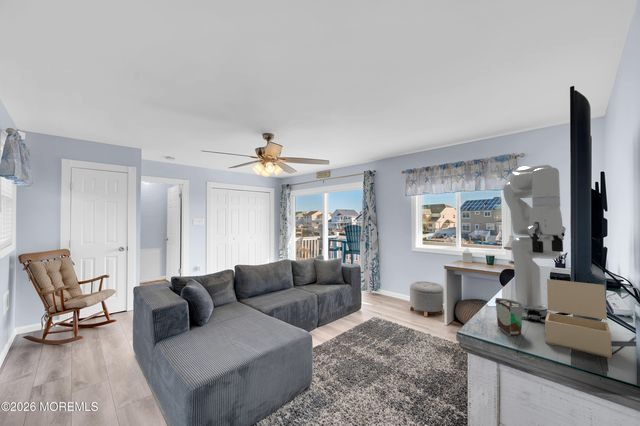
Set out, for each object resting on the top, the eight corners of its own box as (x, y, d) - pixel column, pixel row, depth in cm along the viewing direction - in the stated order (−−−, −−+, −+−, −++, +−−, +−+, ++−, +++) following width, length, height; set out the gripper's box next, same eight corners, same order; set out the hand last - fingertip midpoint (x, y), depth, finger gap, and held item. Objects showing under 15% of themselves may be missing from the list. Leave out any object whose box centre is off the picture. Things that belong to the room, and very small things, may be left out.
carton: (548, 333, 92) (547, 312, 92) (608, 345, 82) (607, 322, 83) (546, 343, 84) (545, 320, 84) (611, 358, 74) (610, 332, 75)
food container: (533, 339, 87) (532, 308, 87) (512, 338, 88) (511, 307, 88) (514, 325, 99) (513, 298, 99) (495, 324, 100) (495, 297, 100)
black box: (514, 320, 106) (513, 308, 106) (515, 315, 112) (515, 304, 112) (555, 328, 98) (555, 315, 98) (555, 322, 104) (554, 310, 104)
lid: (547, 310, 92) (547, 310, 93) (607, 319, 83) (606, 319, 83) (547, 279, 95) (547, 279, 95) (604, 284, 85) (604, 285, 86)
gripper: (551, 204, 100) (552, 250, 100) (517, 203, 95) (518, 251, 95) (575, 202, 93) (577, 252, 93) (540, 202, 88) (542, 254, 87)
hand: (547, 252), depth 94 cm, fingers open, 9 cm apart
